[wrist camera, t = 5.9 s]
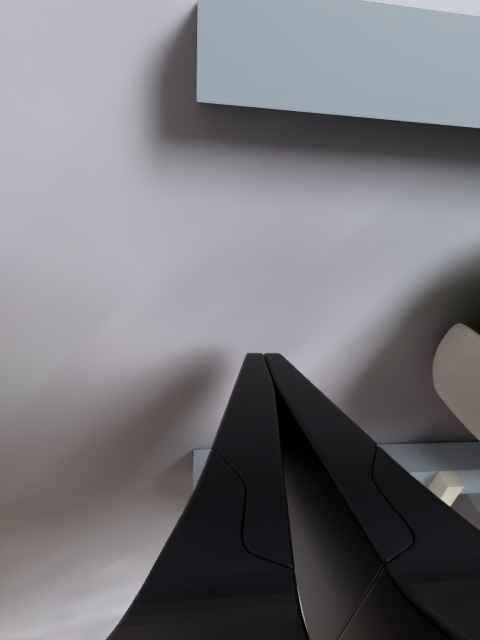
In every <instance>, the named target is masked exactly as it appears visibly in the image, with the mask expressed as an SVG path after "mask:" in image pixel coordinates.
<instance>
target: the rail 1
mask: <svg viewBox="0 0 480 640" xmlns="http://www.w3.org/2000/svg"><path fill="white" fill-rule="evenodd" d="M197 102H202V103H213V104H223V105H234V106H245V107H256V108H266V109H277V110H288V111H299V112H310V113H320V114H331V115H342V116H353V117H363V118H374V119H385V120H396V121H407V122H417V123H428V124H439V125H450V126H461V127H471V128H480V17H479V16H471V15H464V14H457V13H449V12H442V11H435V10H427V9H420V8H413V7H405V6H398V5H390V4H383V3H376V2H368V1H361V0H198V8H197Z"/></svg>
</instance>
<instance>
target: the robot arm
mask: <svg viewBox="0 0 480 640" xmlns="http://www.w3.org/2000/svg"><path fill="white" fill-rule="evenodd" d="M297 587H298V589H297ZM298 591H299V596H300V600H301V604H302V609H303V613H304V618H305V622H306V626H307V629H306V626H305V623H304V619H303V616H302V611H301V606H300V601H299V596H298ZM307 631H308V632H307ZM106 640H480V530H479V529H478V528H476V527H475V526H474V525H473V524H471V523H470V522H469V521H468V520H466V519H465V518H464V517H463V516H461V515H460V514H459V513H458V512H456V511H455V510H454V509H452V508H451V507H450V506H449V505H447V504H446V503H445V502H444V501H442V500H441V499H440V498H439V497H438V496H436V495H435V494H434V493H433V492H431V491H430V490H429V489H428V488H427V487H425V486H424V485H423V484H422V483H421V482H419V481H418V480H417V479H416V478H415V477H413V476H412V475H411V474H410V473H409V472H408V471H407V470H406V469H404V468H403V467H402V466H401V465H400V464H399V463H398V462H397V461H395V460H394V459H393V458H392V457H391V456H390V455H389V454H388V453H387V452H386V451H385V450H384V449H382V448H381V447H380V446H377V443H376V442H375V441H374V440H373V439H371V438H370V437H369V436H368V435H367V434H366V433H365V432H364V431H363V430H362V429H361V428H360V427H359V426H358V425H356V424H355V423H354V422H353V421H352V420H351V419H350V418H349V417H348V416H347V415H346V414H345V413H344V412H342V411H341V410H340V409H339V408H338V407H337V406H336V405H335V404H334V403H333V402H332V401H331V400H330V399H328V398H327V397H326V396H325V395H324V394H323V393H322V392H321V391H320V390H319V389H318V388H317V387H316V386H314V385H313V384H312V383H311V382H310V381H309V380H308V379H307V378H306V377H305V376H304V375H303V374H302V373H300V372H299V371H298V370H297V369H296V368H295V367H294V366H293V365H292V364H291V363H290V362H289V361H288V360H286V359H285V358H284V357H283V356H282V355H281V354H279V353H265V354H264V355H263V354H262V353H247V354H246V356H245V359H244V362H243V364H242V367H241V370H240V372H239V375H238V378H237V380H236V383H235V386H234V388H233V391H232V394H231V396H230V399H229V402H228V404H227V407H226V410H225V412H224V415H223V418H222V420H221V423H220V426H219V429H218V431H217V434H216V437H215V439H214V442H213V445H212V447H211V451H210V452H209V455H208V457H207V460H206V463H205V465H204V468H203V470H202V472H201V475H200V477H199V480H198V482H197V484H196V487H195V489H194V491H193V493H192V495H191V497H190V499H189V501H188V503H187V505H186V507H185V509H184V511H183V513H182V515H181V516H180V518H179V520H178V522H177V524H176V526H175V527H174V529H173V531H172V533H171V535H170V536H169V538H168V540H167V542H166V544H165V546H164V547H163V549H162V551H161V553H160V555H159V557H158V558H157V560H156V562H155V564H154V566H153V567H152V569H151V571H150V573H149V575H148V577H147V578H146V580H145V582H144V584H143V585H142V587H141V589H140V590H139V592H138V594H137V596H136V597H135V599H134V600H133V602H132V604H131V605H130V607H129V608H128V610H127V611H126V613H125V614H124V616H123V617H122V619H121V620H120V622H119V623H118V625H117V626H116V627H115V629H114V630H113V631H112V633H111V634H110V635H109V636H108V637H107V639H106Z"/></svg>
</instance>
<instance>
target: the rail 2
mask: <svg viewBox="0 0 480 640" xmlns="http://www.w3.org/2000/svg"><path fill="white" fill-rule="evenodd" d="M377 446H380V447H381V448H382V449H384V450H385V451H386V452H387V453H388V454H389V455H390V456H391V457H392V458H393V459H394V460H395V461H397V462H398V463H399V464H400V465H401V466H402V467H403V468H404V469H406V470H407V471H408V472H409V473H410V474H411V475H412V476H413V477H415V478H416V479H417V480H418V481H419V482H421V483H422V484H423V485H424V486H425V487H427V488H428V489H429V490H430V491H431V492H433V493H434V494H435V495H436V496H438V497H439V498H440V499H441V500H442V501H444V502H445V503H446V504H447V505H449V506H451V505H452V503H453V502H454V500H455V499H456V497H457V496H458V495H459V494H467V493H480V442H451V443H415V444H379V445H377ZM210 451H211V449H200V450H194V454H193V491H194V489H195V487H196V484H197V482H198V480H199V477H200V475H201V472H202V470H203V468H204V465H205V463H206V460H207V457H208V455H209V452H210Z"/></svg>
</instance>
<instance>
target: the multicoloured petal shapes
mask: <svg viewBox="0 0 480 640" xmlns="http://www.w3.org/2000/svg"><path fill="white" fill-rule="evenodd" d="M433 382H434V386H435V390H436V392H437V394H438V395H439V396H440V397H441V399H442V400H443V401H444V403H445V404H446V405H447V406H448V407H449V409H450V410H451V411H452V412H453V413H454V414H455V416H456V417H457V418H458V419H459V420H460V421H461V422H462V423H463V424H464V426H465V427H466V428H467V429H468V430H469V431H470V432H471V433H472V434H473V435H474V436H475V437H476V438H477V439H478V440H479V441H480V335H479V334H478V333H476V332H475V331H474V330H472V329H470V328H469V327H467V326H466V325H463V324H461V323H458V324H456V325H454V326H453V327H452V328H451V329H450V330H449V331H448V332H447V333H446V335H445V336H444V338H443V339H442V341H441V342H440V344H439V346H438V348H437V351H436V353H435V356H434V361H433Z"/></svg>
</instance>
